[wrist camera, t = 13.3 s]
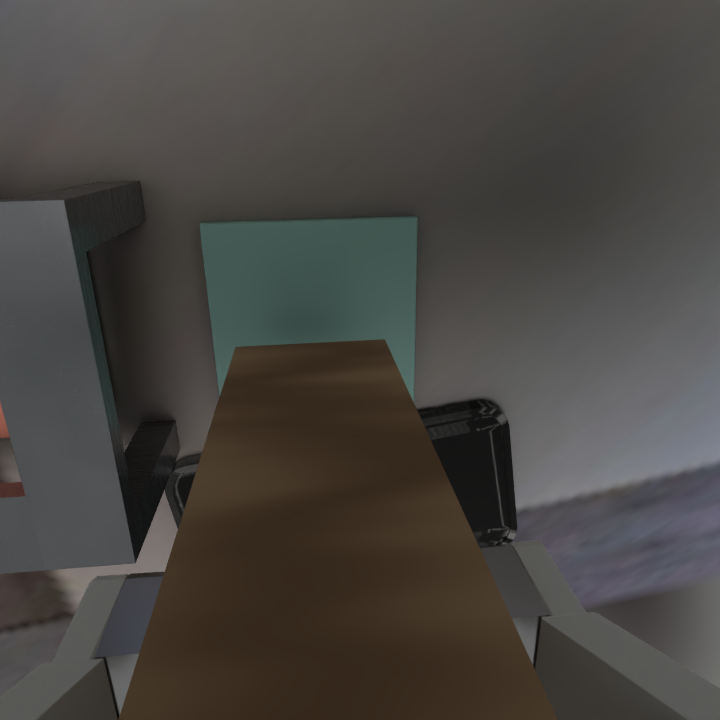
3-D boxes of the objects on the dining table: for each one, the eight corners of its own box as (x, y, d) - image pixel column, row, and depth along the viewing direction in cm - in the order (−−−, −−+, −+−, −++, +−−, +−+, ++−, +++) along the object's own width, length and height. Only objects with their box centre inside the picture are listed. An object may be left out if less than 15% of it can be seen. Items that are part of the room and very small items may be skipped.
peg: (385, 338, 15) (858, 1380, 2) (385, 467, 17) (685, 1563, 4) (235, 346, 15) (-163, 1615, 2) (248, 476, 16) (63, 1719, 3)
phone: (518, 546, 27) (207, 611, 27) (510, 531, 28) (210, 593, 28) (507, 400, 24) (156, 469, 24) (498, 389, 25) (162, 455, 25)
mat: (415, 216, 22) (417, 217, 21) (411, 405, 25) (413, 410, 24) (201, 222, 21) (199, 223, 21) (223, 416, 24) (222, 421, 23)
